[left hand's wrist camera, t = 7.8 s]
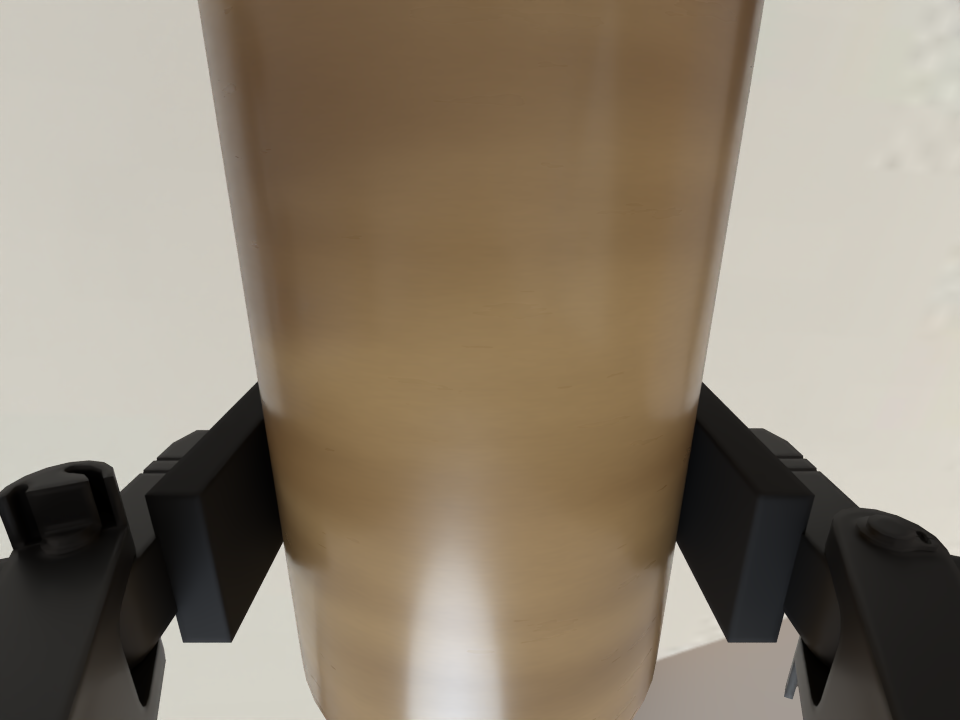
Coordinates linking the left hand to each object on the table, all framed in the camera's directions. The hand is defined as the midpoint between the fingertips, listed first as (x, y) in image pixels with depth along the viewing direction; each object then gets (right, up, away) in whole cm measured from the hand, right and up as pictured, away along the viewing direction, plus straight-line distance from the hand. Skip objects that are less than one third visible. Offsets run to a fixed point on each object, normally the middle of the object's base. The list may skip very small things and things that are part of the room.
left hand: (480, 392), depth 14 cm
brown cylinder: (0, +8, -2) cm, 8 cm away
